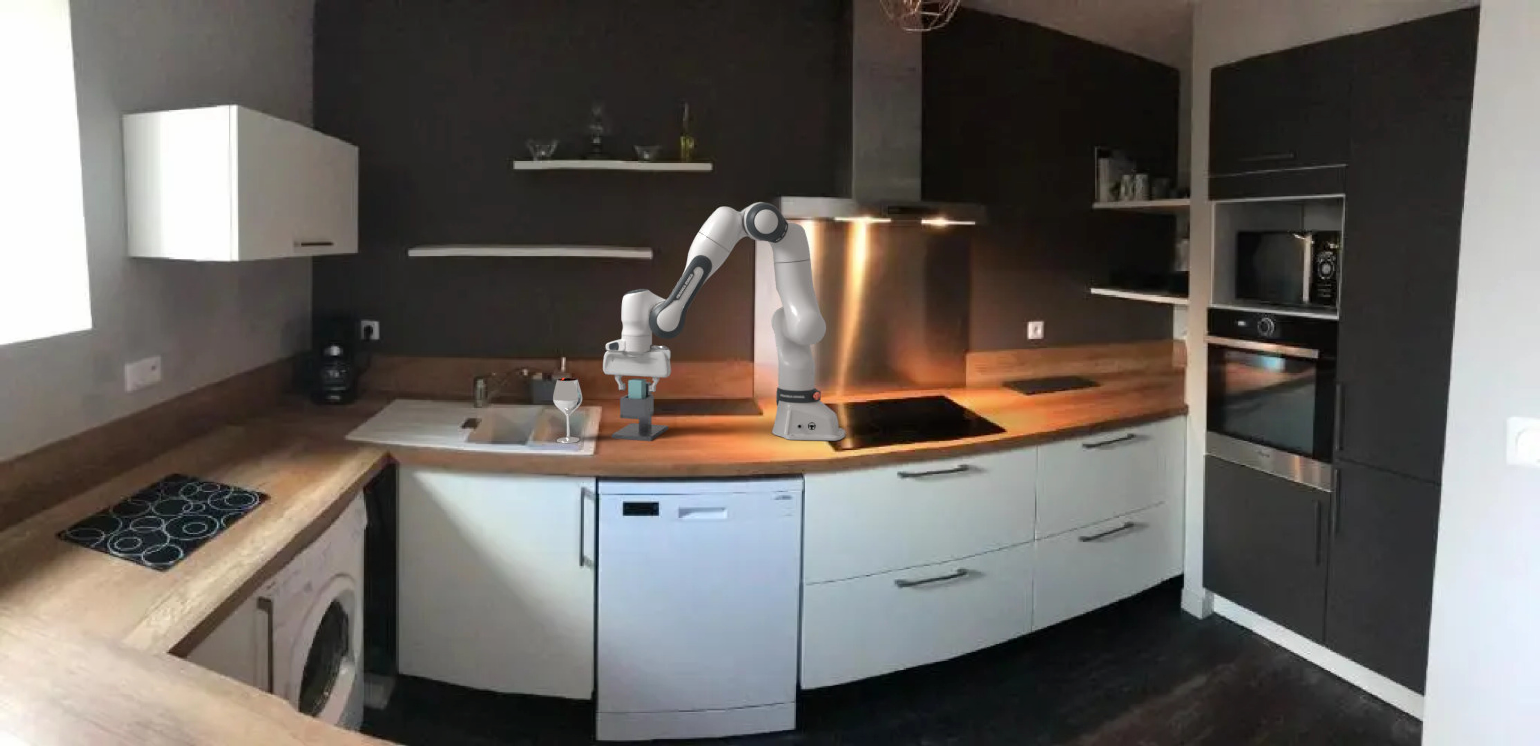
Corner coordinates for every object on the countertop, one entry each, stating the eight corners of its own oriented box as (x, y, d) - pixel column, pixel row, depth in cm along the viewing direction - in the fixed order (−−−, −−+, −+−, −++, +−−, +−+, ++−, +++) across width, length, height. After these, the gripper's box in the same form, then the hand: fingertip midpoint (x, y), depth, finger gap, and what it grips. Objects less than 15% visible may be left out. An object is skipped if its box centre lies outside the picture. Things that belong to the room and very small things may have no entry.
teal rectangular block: (646, 412, 258) (645, 379, 256) (641, 414, 254) (641, 381, 253) (633, 411, 259) (633, 378, 257) (628, 413, 255) (628, 380, 253)
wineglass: (577, 436, 256) (576, 376, 253) (586, 441, 249) (586, 380, 246) (550, 439, 252) (548, 378, 249) (559, 445, 245) (558, 382, 242)
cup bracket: (668, 429, 267) (668, 381, 265) (650, 441, 252) (650, 390, 249) (631, 426, 269) (631, 379, 267) (611, 438, 254) (611, 388, 252)
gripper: (674, 344, 254) (674, 390, 256) (608, 341, 258) (609, 387, 261) (667, 347, 248) (667, 394, 250) (600, 344, 252) (601, 390, 254)
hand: (637, 390), depth 255 cm, fingers open, 8 cm apart
